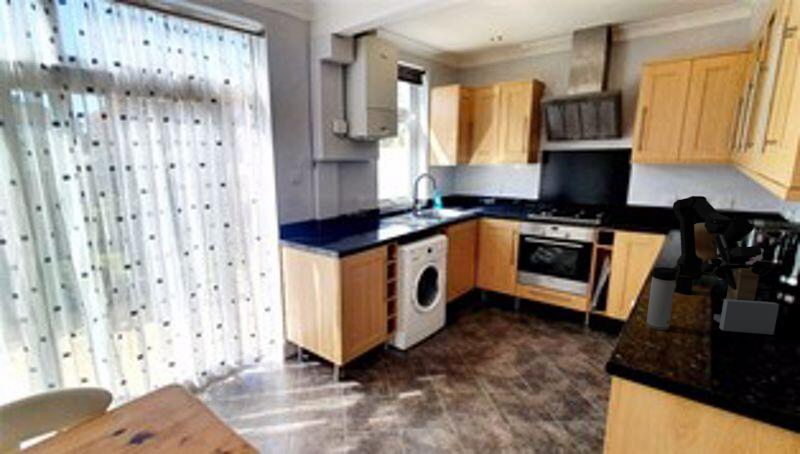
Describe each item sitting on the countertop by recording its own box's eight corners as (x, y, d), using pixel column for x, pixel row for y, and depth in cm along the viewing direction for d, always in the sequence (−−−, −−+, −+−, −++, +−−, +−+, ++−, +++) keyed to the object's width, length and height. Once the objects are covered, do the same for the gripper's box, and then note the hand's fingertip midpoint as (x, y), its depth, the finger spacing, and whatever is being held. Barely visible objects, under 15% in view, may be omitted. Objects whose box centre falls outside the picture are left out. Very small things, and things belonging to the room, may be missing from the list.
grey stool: (705, 318, 134) (709, 290, 132) (751, 321, 131) (756, 293, 130) (723, 330, 124) (727, 301, 123) (773, 334, 122) (779, 304, 120)
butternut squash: (675, 269, 196) (681, 220, 192) (697, 268, 198) (704, 220, 194) (700, 277, 182) (708, 225, 178) (724, 276, 185) (732, 224, 181)
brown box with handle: (725, 304, 130) (731, 266, 128) (742, 305, 129) (748, 267, 127) (734, 309, 126) (741, 270, 123) (752, 310, 125) (759, 271, 122)
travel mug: (673, 331, 123) (682, 271, 120) (651, 329, 125) (658, 270, 121) (664, 323, 129) (672, 266, 126) (643, 321, 131) (650, 264, 127)
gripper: (710, 234, 129) (725, 276, 120) (775, 237, 125) (795, 280, 117) (694, 252, 138) (707, 291, 129) (754, 255, 134) (772, 296, 126)
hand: (744, 289), depth 125 cm, fingers closed on brown box with handle, 5 cm apart
